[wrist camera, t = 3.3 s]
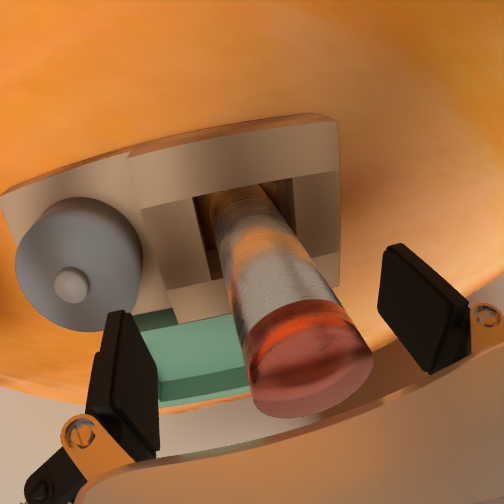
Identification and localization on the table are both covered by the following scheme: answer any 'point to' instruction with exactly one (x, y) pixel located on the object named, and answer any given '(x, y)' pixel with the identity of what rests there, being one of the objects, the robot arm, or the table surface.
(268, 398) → the pin
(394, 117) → the table surface
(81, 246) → the block
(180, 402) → the tray
